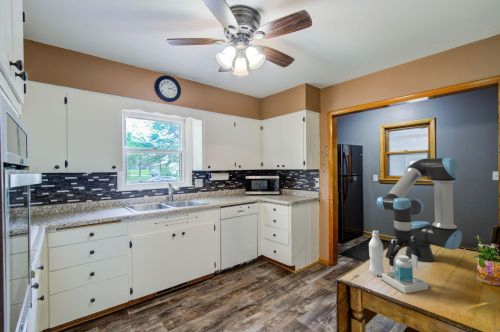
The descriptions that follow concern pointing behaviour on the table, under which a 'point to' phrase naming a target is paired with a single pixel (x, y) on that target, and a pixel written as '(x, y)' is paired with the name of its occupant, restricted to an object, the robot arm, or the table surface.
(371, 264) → the water bottle
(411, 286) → the tray
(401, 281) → the pill bottle
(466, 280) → the table surface
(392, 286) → the mat
